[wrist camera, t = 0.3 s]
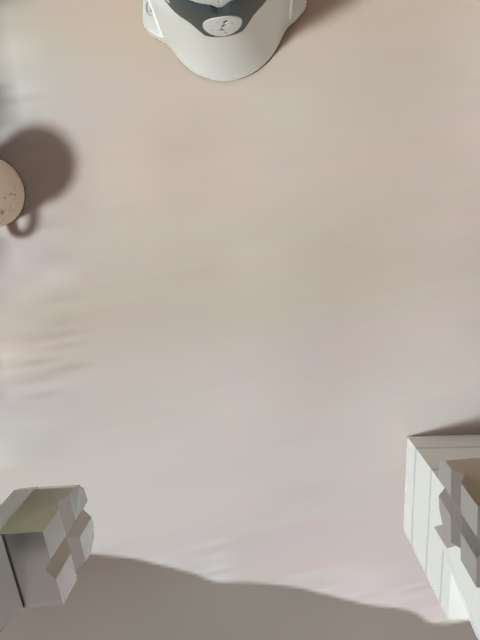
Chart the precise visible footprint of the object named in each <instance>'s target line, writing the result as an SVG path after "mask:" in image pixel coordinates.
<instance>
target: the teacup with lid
mask: <svg viewBox="0 0 480 640" xmlns="http://www.w3.org/2000/svg"><path fill="white" fill-rule="evenodd" d="M24 200H25V192H24V187H23V183H22V181H21V179H20V177H19V175H18V174H17V172H16V171H15V170H14V169H13V168H12V167H11V166H10V165H9V164H8V163H6V162H4V161H3V160H0V226H4V225H7V224H9V223H11V222H12V221H13V220H15V219H16V218H17V217H18V215H19V214H20V212H21V210H22V208H23V205H24Z"/></svg>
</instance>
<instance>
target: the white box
mask: <svg viewBox="0 0 480 640" xmlns="http://www.w3.org/2000/svg"><path fill="white" fill-rule="evenodd" d="M478 457H480V435H445V436H407V456H406V481H405V506H404V531H405V533H406V535H407V537H408V539H409V541H410V543H411V545H412V547H413V549H414V551H415V553H416V555H417V557H418V559H419V561H420V563H421V566H422V568H423V570H424V572H425V574H426V576H427V578H428V580H429V582H430V584H431V586H432V588H433V590H434V592H435V594H436V596H437V598H438V600H439V602H440V604H441V606H442V608H443V610H444V612H445V614H446V616H447V619H470V622H471V624H472V627H473V629H474V632H475V634H476V636H477V638H478V640H480V588H476V586H475V584H474V582H473V581H472V579H471V577H470V575H469V574H468V572H467V570H466V568H465V567H464V565H463V563H462V561H461V549H460V548H459V547H457V546H456V545H454V544H453V543H451V541H450V540H449V538H448V536H447V534H446V532H445V529H444V526H443V524H442V520H441V515H440V510H439V495H440V493H441V492H442V491H443V489H444V488H445V487H444V486H443V484H442V482H441V481H440V479H439V464H440V461H444V460H456V459H467V458H478Z"/></svg>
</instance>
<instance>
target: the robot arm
mask: <svg viewBox="0 0 480 640" xmlns="http://www.w3.org/2000/svg"><path fill="white" fill-rule="evenodd" d="M305 8H306V0H143V23H144V26H145V29H146V31H147V32H148V33H149V34H150V35H152V36H153V37H155V38H156V39H158V40H160V41H162V42H164V43H166V44H167V45H168V46H169V47H170V48H171V49H172V51H173V52H174V53H175V55H176V56H177V57H178V59H179V60H180V61H181V62H182V63H183V64H184V65H185V66H186V67H188V68H189V69H190V70H191V71H193V72H195V73H196V74H198V75H200V76H202V77H205V78H208V79H212V80H218V81H230V80H236V79H240V78H243V77H246V76H248V75H250V74H252V73H253V72H255V71H257V70H258V69H259V68H261V67H262V66H263V65H264V64H265V63H266V62H267V61H268V60H269V59H270V58H271V56H272V55H273V54H274V52H275V51H276V49H277V47H278V45H279V43H280V41H281V39H282V37H283V35H284V33H285V31H286V30H287V28H288V27H289V26H290V25H291V24H292V23H294V22H295V21H296V20H297V19H298V18H299V17H300V16H301V15H302V13H303V12H304V10H305ZM151 11H152V13H151ZM439 479H440V481H441V482H442V484H443V486H444V487H445V488H444V489H443V491H442V492H441V493H440V495H439V510H440V515H441V520H442V524H443V526H444V529H445V532H446V534H447V536H448V538H449V540H450V541H451V543H453V544H454V545H456V546H457V547H459V548H460V549H461V561H462V563H463V565H464V567H465V568H466V570H467V572H468V574H469V575H470V577H471V579H472V581H473V582H474V584H475V586H476V588H480V457H478V458H467V459H456V460H444V461H440V464H439ZM86 503H87V498H86V494H85V491H84V488H82V487H81V486H80V485H71V486H49V487H30V488H20V489H17V490H14V491H13V492H12V493H11V494H10V496H9V497H8V498H7V499H6V500H5V501H4V502H3V503H2V504H1V505H0V632H1V631H2V630H3V629H5V628H6V627H7V626H8V625H9V624H10V623H11V622H12V621H13V620H14V619H15V618H16V617H17V616H19V615H20V614H21V613H22V612H23V611H24V608H34V607H46V606H60V605H63V604H64V602H65V600H66V599H67V597H68V595H69V593H70V591H71V589H72V587H73V585H74V583H75V581H76V579H77V576H76V572H75V569H77V568H78V567H79V566H81V565H82V564H83V563H84V562H86V560H87V558H88V556H89V554H90V552H91V548H92V543H93V538H94V529H93V522H92V518H91V516H90V515H89V514H87V513H86V512H85V511H84V510H83V508H84V506H85V504H86Z"/></svg>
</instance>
